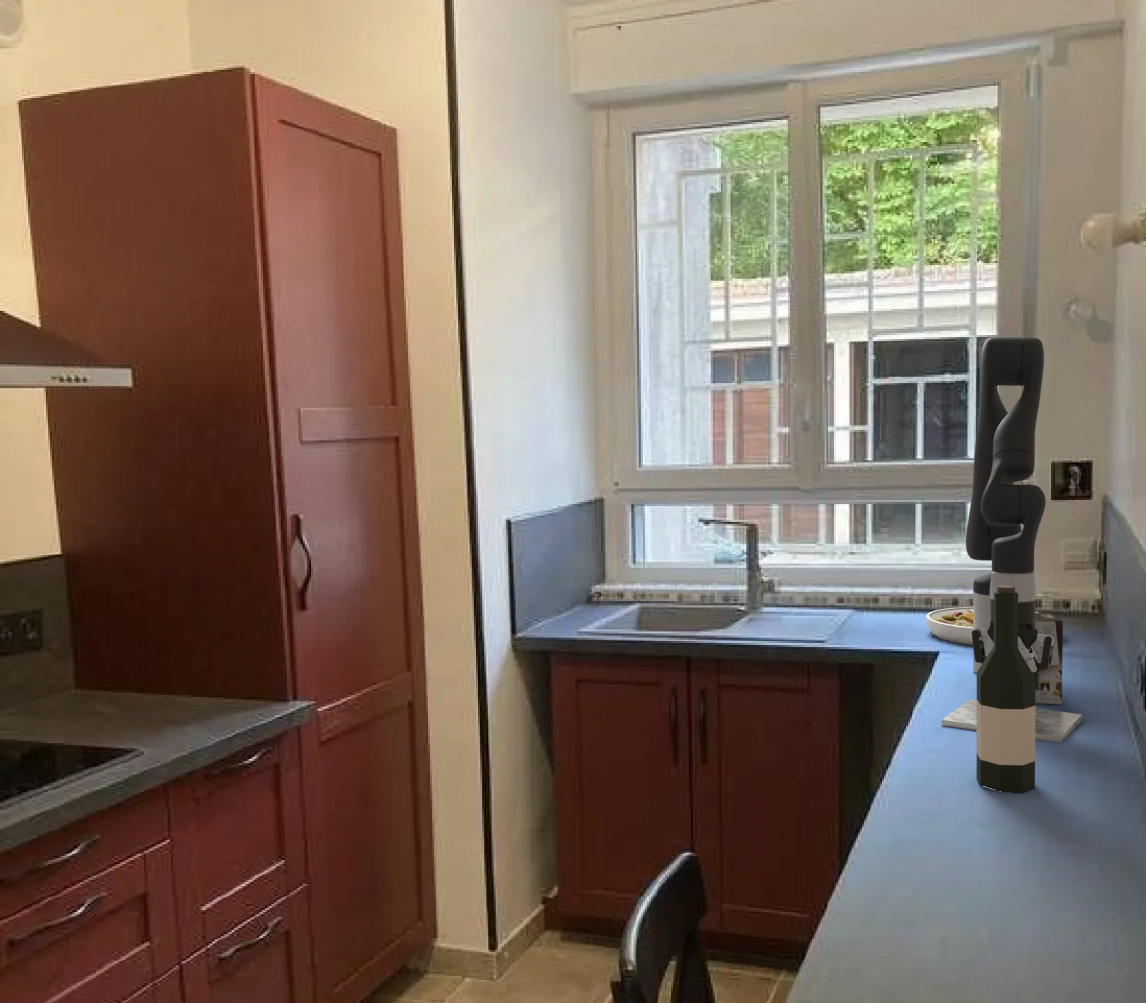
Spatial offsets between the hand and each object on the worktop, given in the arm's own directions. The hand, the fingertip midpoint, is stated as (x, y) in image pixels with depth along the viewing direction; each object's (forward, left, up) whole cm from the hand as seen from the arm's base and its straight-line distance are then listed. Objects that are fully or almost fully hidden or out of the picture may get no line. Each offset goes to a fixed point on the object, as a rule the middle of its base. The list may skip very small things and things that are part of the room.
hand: (1012, 689), depth 198 cm
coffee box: (-20, 0, -6) cm, 21 cm away
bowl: (-75, -25, -7) cm, 79 cm away
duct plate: (0, 0, -6) cm, 6 cm away
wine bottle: (+34, +8, -6) cm, 35 cm away
